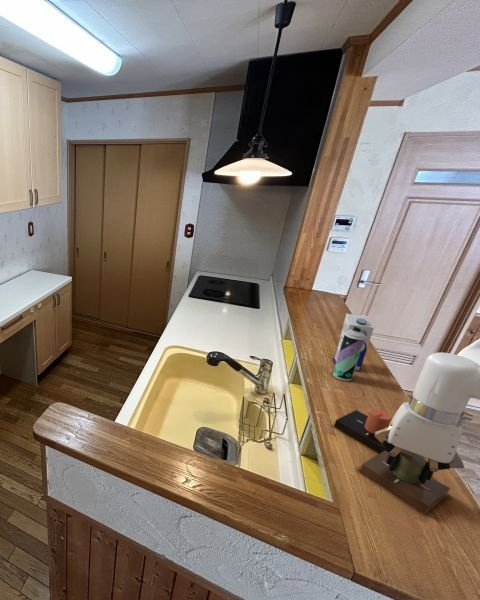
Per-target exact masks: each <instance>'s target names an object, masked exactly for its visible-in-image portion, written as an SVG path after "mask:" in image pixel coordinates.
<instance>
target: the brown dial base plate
mask: <svg viewBox="0 0 480 600" xmlns="http://www.w3.org/2000/svg"><path fill="white" fill-rule="evenodd" d="M388 454H389V452H387V451H383V452H382V453H380V454H379V453H377V455H375V456H374V457H372V458H370V459H368V460H367V461H365V462H363V463H362V464H361V467H360V470H359V472H360V473H361V474H363V475H364V476H366V477H367V478H369V479H370V480H371V481H373V482H375V483H377V484H378V485H379V486H381V487H382V488H384V489H386V491H388V492H390V493H391V494H393V495H394V496H396V497H397V498H399V499H401V500H402V501H403V502H405V503H407V504H408V505H410V506H411V507H412V508H414V509H416V510H417V511H418V512H420V513H422V514H423V515H426V514H427V512H429V511H430V510H431V509H433V508H434V507H435V506H436V505H437V504H439V503H440V502H441V501H442V500H443V499H445V498H446V497H447V496H448V494H449V492H450V491H451V487H449V486H447V485H446V484H444V483H442V482H441V481H438V480H437V479H435V478H434V477H433V476H432V477H431V479H430V480H427V479H426V482H425V484H422V483H421V482H420V481H419V480H418V482H417V483H408V482H405V481H403V480H401V479H399V478H398V477H397V476H395V475H394V473H393V472H392V471H390V470H389V464H386V459H387V457H388Z"/></svg>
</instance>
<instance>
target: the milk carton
mask: <svg viewBox="0 0 480 600" xmlns="http://www.w3.org/2000/svg"><path fill="white" fill-rule="evenodd" d="M354 326H359V327H360V330H361V331H362V333H364V334H365V339H364V343H363V346H362V349H361V352H360V355H359V358H358V361H357V364H356V368H355V371H356V372H361V368H362V366H363V362H364V360H365V356H366V353H367V350H368V348H369V345H370V341H371V338H372V335H373V332H374V329H375V325H374V323H373V321H372V318H371V317H370V315H361V314H354V313H353V314H352V313H345V318H344V321H343V324H342V328H341V331H340V334H339V338H338V341H337V345H336V349H335V352H334V356H333V361H334V364H336V362H337V358H338V355H339V351H340V348H341V345H342V341H343V338H344V334H345V332H346V331H347V330H351V329H353V328H354Z"/></svg>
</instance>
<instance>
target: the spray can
mask: <svg viewBox="0 0 480 600" xmlns="http://www.w3.org/2000/svg"><path fill="white" fill-rule="evenodd" d="M364 339H365V334H364V333H362V331H361V330H360V327H359V326H354V328H353V329H351V330H347V331H346V332H345V334H344V338H343V341H342V345H341V348H340V351H339V355H338V358H337V362H336V363H335V366H334V369H333V372H332V376H333V377H334V378H335V379H338V380H340V381H344V382H350V381H352V380H353V377H354V373H355V371H356V370H355V368H356V364H357V361H358V358H359V355H360V352H361V349H362V346H363V343H364Z"/></svg>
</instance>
